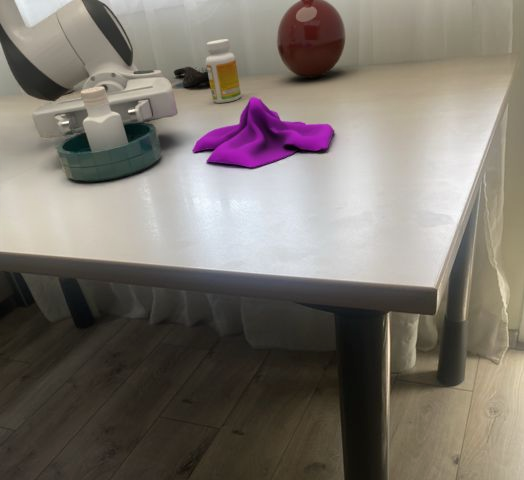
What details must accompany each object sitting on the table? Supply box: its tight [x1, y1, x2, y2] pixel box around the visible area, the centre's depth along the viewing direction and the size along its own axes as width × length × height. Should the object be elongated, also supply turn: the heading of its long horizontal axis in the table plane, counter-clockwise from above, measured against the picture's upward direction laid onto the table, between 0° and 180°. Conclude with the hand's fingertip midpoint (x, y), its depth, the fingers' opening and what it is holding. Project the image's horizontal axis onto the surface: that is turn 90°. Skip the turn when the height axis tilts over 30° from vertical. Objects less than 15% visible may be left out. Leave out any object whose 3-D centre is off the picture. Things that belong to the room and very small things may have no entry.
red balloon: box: [276, 0, 346, 79], centre depth 100 cm, size 13×13×20 cm
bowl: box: [55, 122, 163, 183], centre depth 74 cm, size 14×14×4 cm
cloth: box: [192, 96, 335, 168], centre depth 73 cm, size 22×19×6 cm
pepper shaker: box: [80, 87, 128, 151], centre depth 72 cm, size 4×4×10 cm
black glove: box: [173, 66, 210, 88], centre depth 120 cm, size 8×4×25 cm
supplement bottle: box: [205, 38, 242, 104], centre depth 97 cm, size 5×5×10 cm
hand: (100, 123), depth 71 cm, fingers open, 8 cm apart
